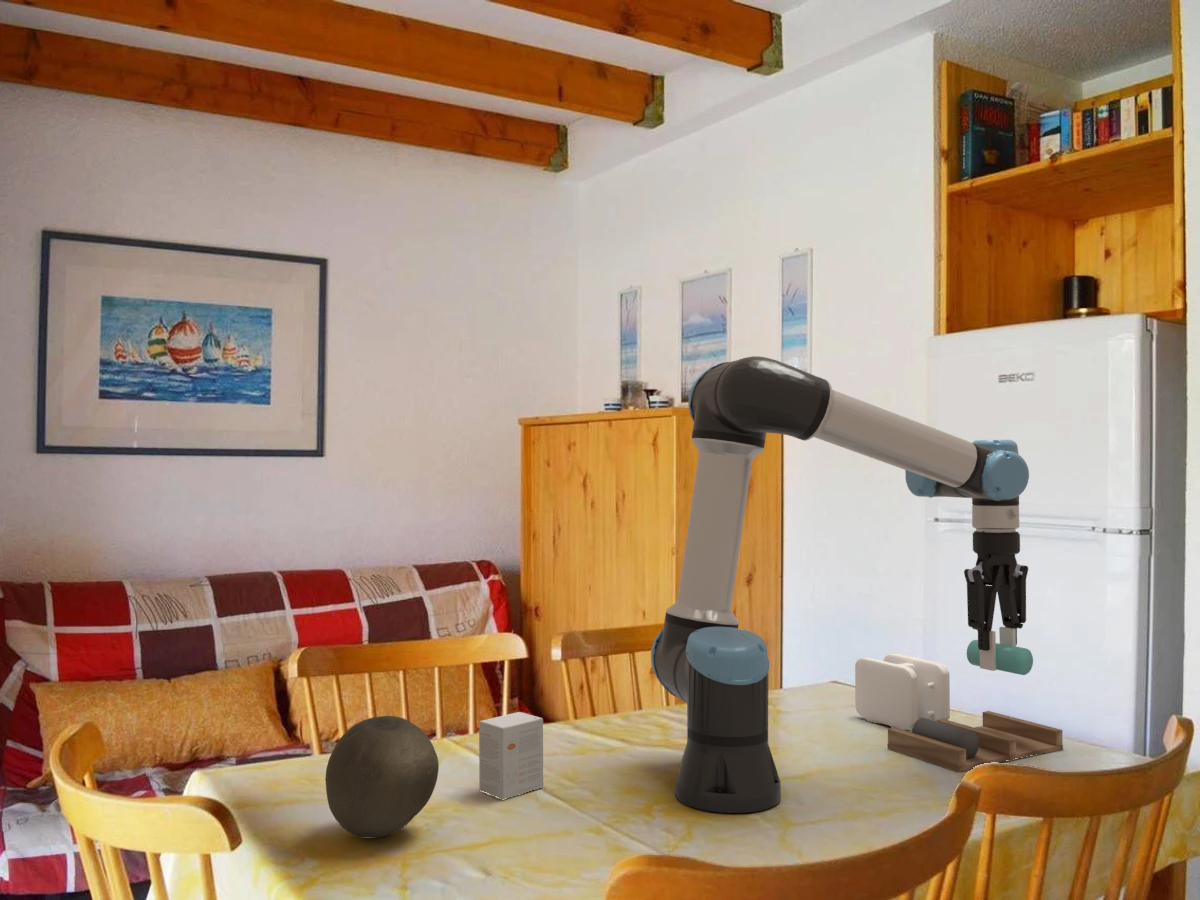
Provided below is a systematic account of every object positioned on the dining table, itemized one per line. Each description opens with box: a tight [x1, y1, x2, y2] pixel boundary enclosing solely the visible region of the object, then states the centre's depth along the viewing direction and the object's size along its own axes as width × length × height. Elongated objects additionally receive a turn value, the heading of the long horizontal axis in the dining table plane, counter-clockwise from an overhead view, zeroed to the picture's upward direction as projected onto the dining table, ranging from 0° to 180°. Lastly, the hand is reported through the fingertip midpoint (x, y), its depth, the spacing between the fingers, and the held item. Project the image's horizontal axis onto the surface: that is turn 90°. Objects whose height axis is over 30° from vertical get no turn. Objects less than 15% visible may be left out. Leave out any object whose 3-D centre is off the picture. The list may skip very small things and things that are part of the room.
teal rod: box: [966, 639, 1034, 676], centre depth 173 cm, size 10×4×4 cm, turn 29°
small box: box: [478, 711, 544, 799], centre depth 150 cm, size 8×6×10 cm
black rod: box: [911, 718, 979, 759], centre depth 167 cm, size 10×4×4 cm
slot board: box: [886, 710, 1064, 773], centre depth 171 cm, size 25×15×3 cm, turn 119°
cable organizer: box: [854, 653, 951, 731], centre depth 189 cm, size 15×11×12 cm
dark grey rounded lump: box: [324, 715, 440, 838], centre depth 132 cm, size 14×14×15 cm
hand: (997, 667), depth 173 cm, fingers closed on teal rod, 4 cm apart
